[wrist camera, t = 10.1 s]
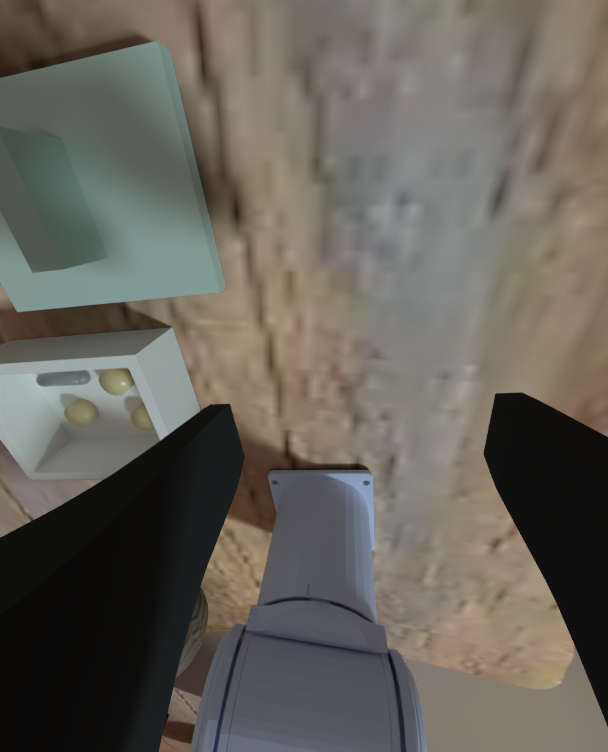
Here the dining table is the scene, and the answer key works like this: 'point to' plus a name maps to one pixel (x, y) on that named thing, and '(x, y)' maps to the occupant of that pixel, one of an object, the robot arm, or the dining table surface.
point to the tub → (91, 400)
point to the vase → (194, 632)
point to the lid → (101, 185)
